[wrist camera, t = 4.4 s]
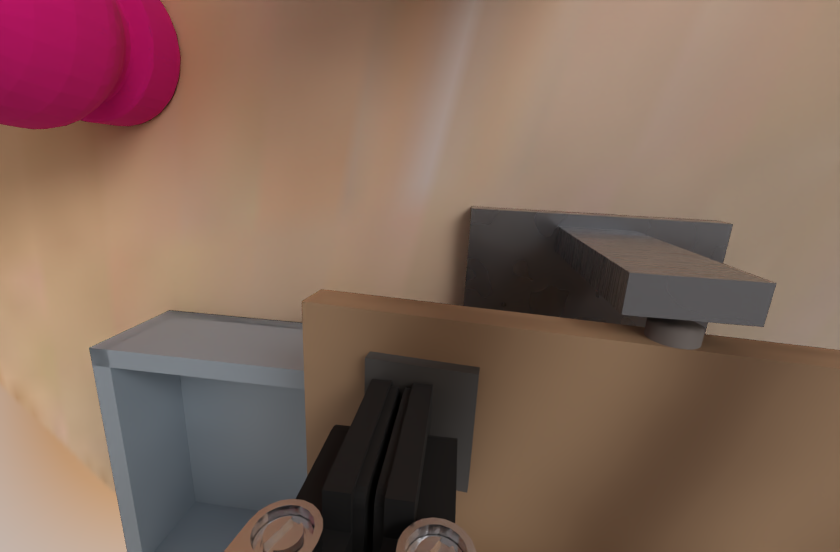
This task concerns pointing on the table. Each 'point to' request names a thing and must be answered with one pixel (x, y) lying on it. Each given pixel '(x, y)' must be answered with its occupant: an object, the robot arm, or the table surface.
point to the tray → (597, 424)
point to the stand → (609, 268)
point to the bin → (201, 425)
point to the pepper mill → (85, 62)
